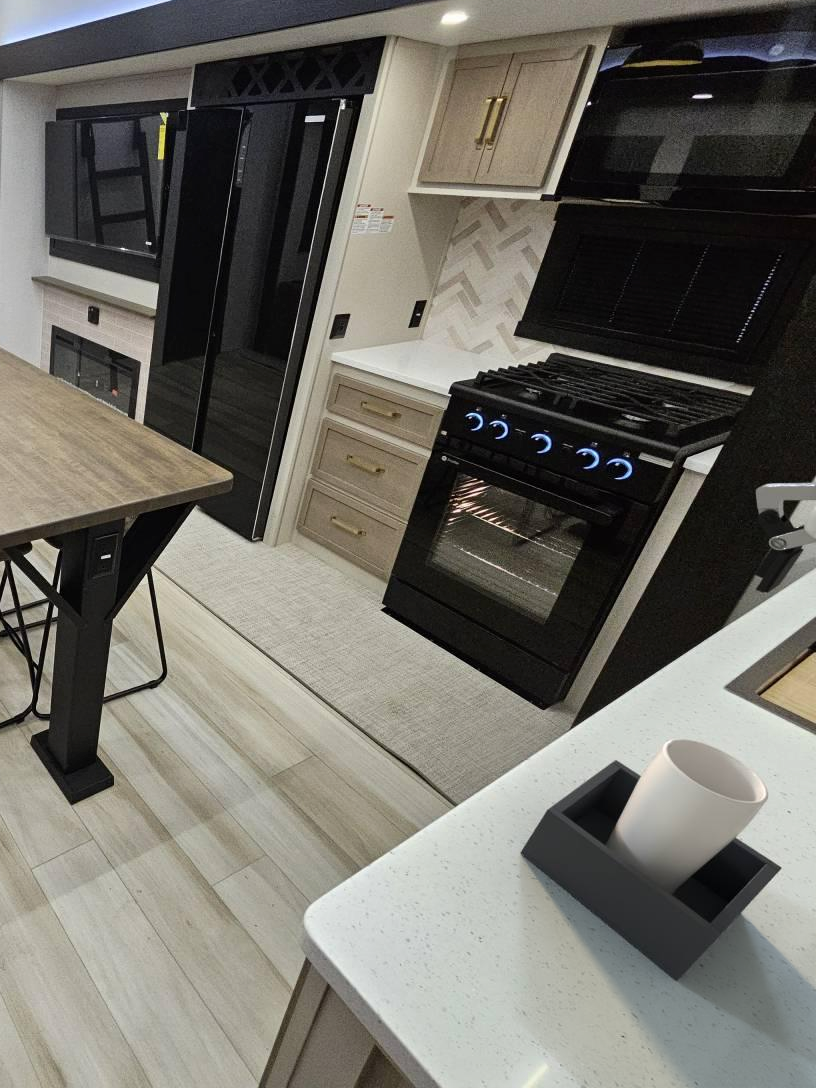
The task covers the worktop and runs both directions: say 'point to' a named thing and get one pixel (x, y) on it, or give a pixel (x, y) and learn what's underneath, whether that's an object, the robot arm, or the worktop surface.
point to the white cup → (685, 811)
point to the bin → (642, 876)
